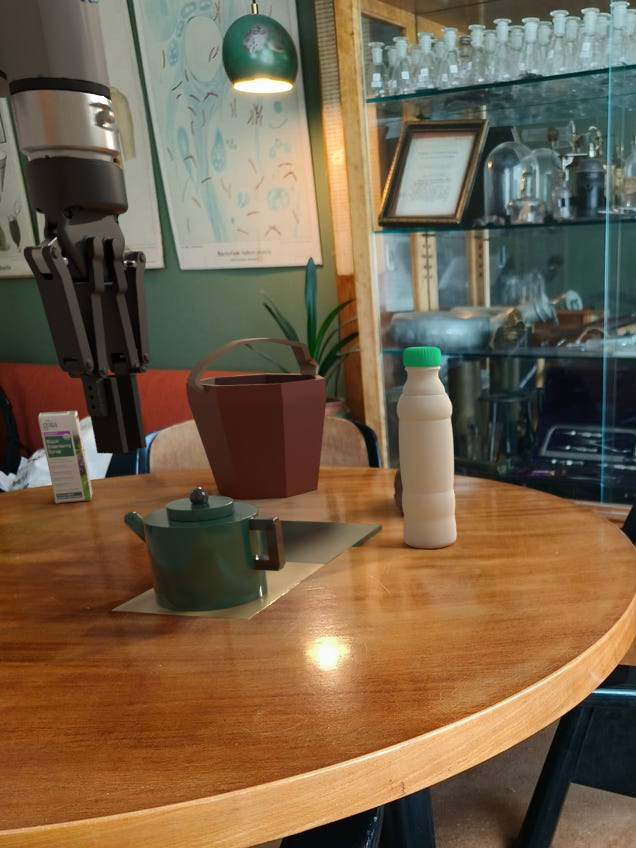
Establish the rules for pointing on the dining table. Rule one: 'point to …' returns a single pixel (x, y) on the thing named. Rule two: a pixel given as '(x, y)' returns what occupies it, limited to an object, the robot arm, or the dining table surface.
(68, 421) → the syrup box
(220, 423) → the bucket
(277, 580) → the board
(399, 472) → the perforated stone tool
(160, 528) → the kettle
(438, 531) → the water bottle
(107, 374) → the robot arm
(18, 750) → the dining table surface
